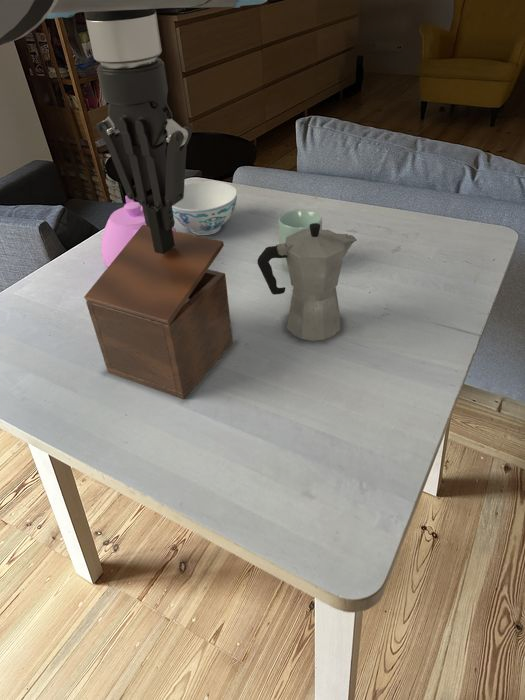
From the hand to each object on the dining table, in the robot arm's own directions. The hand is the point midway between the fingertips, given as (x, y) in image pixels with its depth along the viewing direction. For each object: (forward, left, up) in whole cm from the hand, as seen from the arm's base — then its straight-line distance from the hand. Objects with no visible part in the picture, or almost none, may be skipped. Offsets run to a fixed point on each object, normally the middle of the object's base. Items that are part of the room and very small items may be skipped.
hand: (164, 248), depth 75 cm
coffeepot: (+13, -16, -18) cm, 27 cm away
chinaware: (+37, +19, -18) cm, 45 cm away
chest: (-3, 0, -18) cm, 18 cm away
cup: (+30, -7, -18) cm, 35 cm away
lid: (-3, 0, -2) cm, 4 cm away
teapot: (+20, +23, -18) cm, 35 cm away
